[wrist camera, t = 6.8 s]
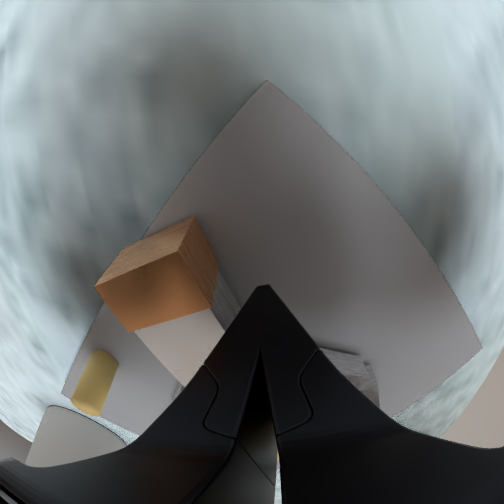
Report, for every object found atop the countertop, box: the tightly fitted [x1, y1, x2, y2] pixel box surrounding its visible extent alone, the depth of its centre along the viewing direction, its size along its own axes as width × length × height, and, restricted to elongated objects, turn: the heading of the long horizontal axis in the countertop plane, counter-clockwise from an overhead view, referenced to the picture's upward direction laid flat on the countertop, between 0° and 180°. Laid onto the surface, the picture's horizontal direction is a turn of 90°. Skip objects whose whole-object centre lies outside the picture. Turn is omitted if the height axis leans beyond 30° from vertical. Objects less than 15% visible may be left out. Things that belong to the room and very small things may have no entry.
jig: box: [61, 80, 482, 469], centre depth 11 cm, size 18×20×4 cm
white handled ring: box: [94, 216, 380, 461], centre depth 10 cm, size 10×15×2 cm, turn 22°
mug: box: [25, 406, 126, 467], centre depth 14 cm, size 12×8×11 cm
